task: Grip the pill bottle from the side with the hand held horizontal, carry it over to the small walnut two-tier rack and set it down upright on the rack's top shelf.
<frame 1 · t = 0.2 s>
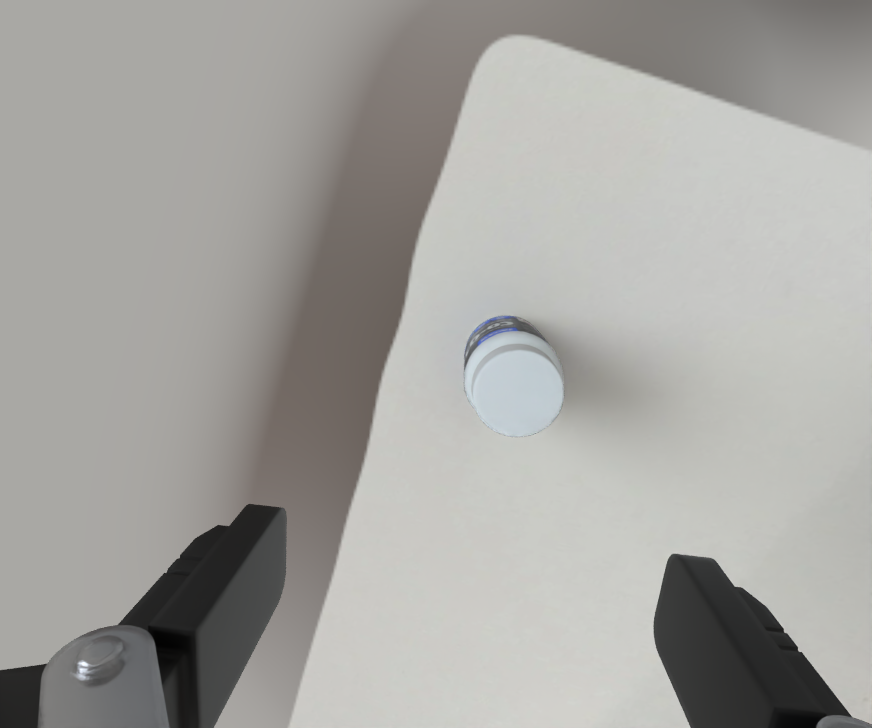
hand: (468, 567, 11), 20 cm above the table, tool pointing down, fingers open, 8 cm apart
pill bottle: (503, 354, 31), on the table
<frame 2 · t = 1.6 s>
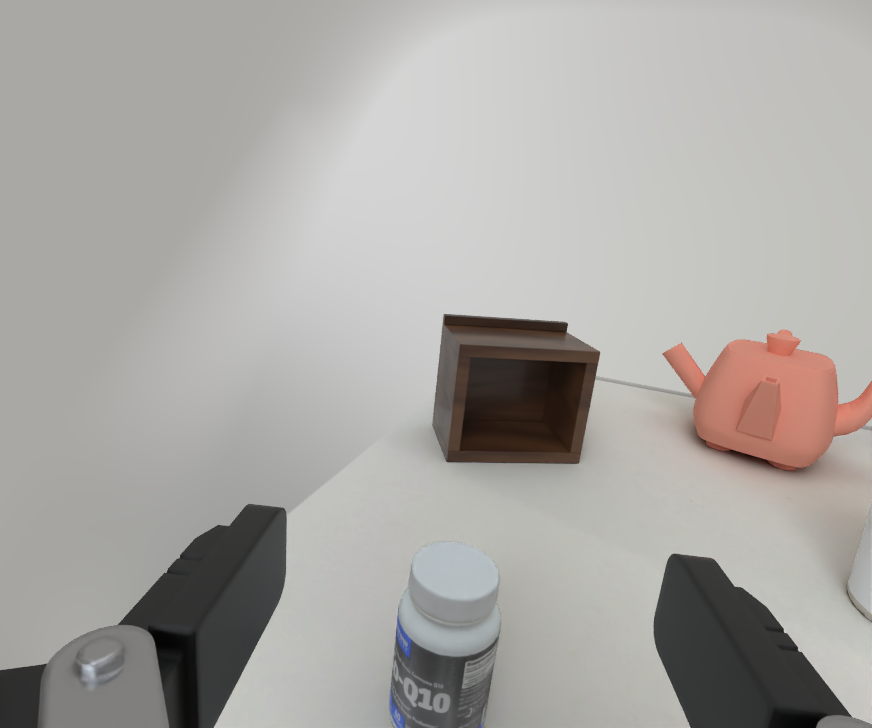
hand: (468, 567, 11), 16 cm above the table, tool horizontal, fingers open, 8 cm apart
pill bottle: (436, 715, 26), on the table
shelf: (501, 443, 57), on the table
teapot: (754, 447, 64), on the table
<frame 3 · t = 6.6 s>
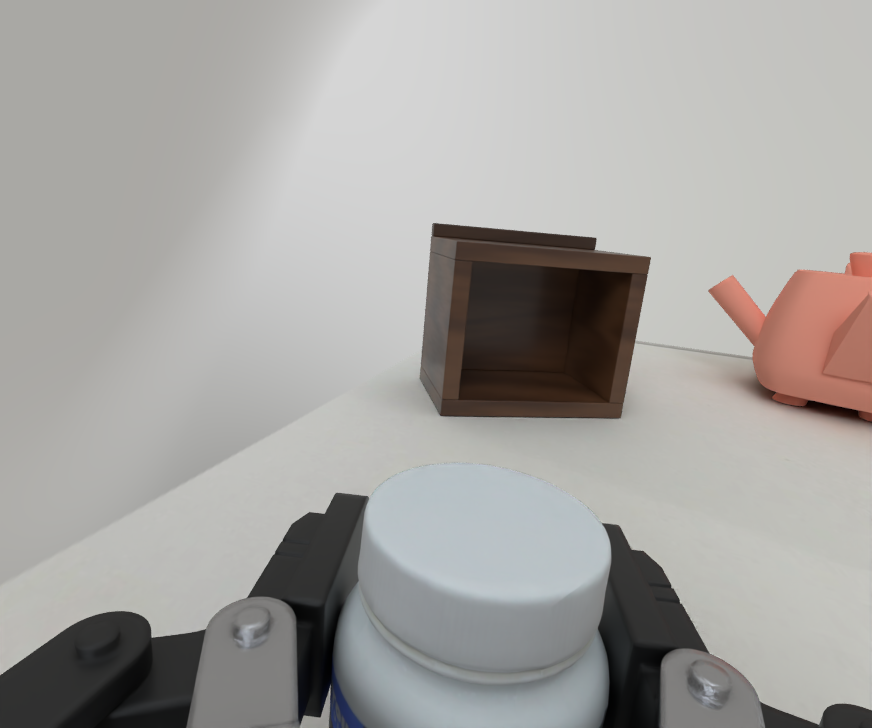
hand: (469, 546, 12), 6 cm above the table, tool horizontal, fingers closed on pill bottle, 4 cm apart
shelf: (513, 397, 42), on the table
teapot: (832, 403, 50), on the table
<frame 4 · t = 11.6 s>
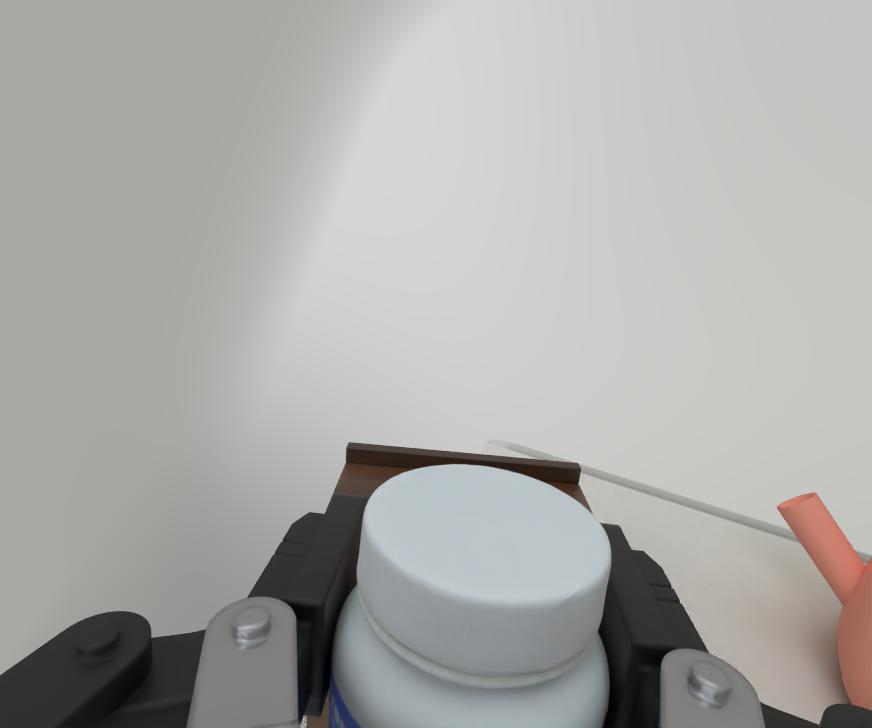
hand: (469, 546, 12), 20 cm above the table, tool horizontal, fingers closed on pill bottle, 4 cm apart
shelf: (443, 685, 31), on the table
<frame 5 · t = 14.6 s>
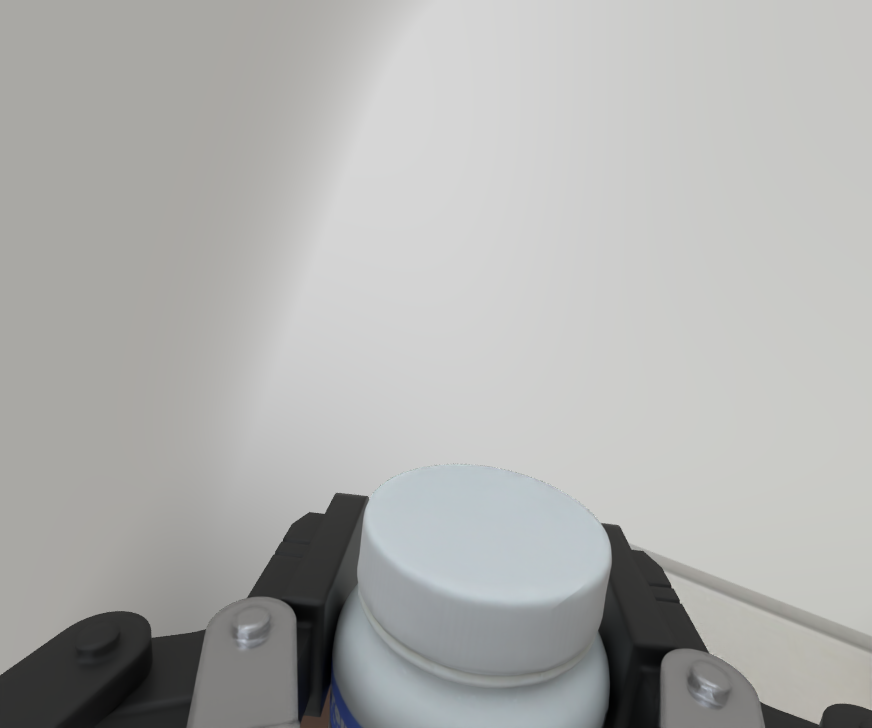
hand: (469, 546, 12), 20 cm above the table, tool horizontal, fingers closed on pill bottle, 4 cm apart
when the fingers open (18 cm above the table, at t = 16.8 s): pill bottle stays where it is, resting on shelf.
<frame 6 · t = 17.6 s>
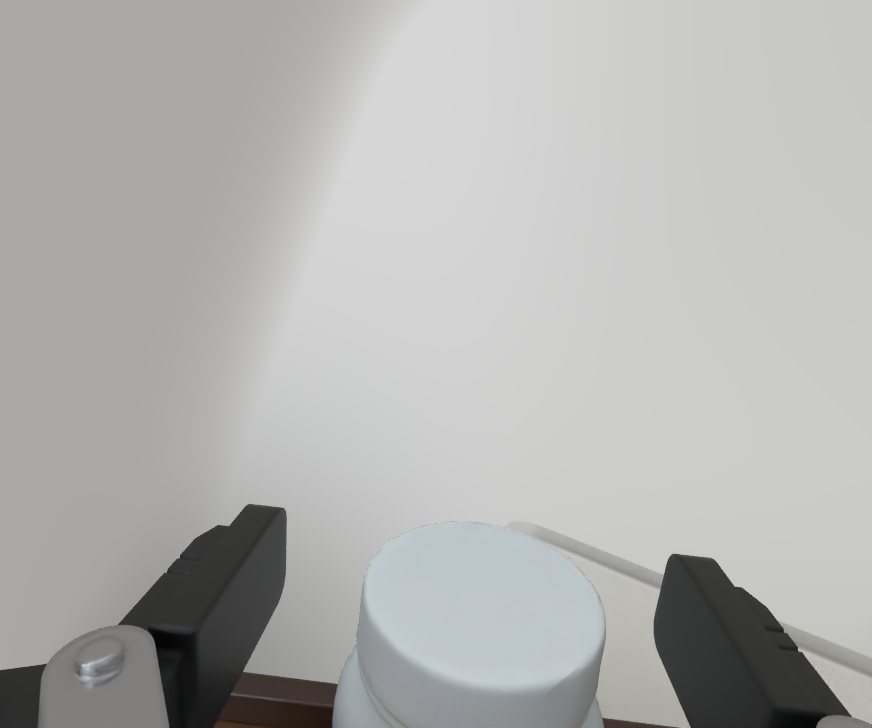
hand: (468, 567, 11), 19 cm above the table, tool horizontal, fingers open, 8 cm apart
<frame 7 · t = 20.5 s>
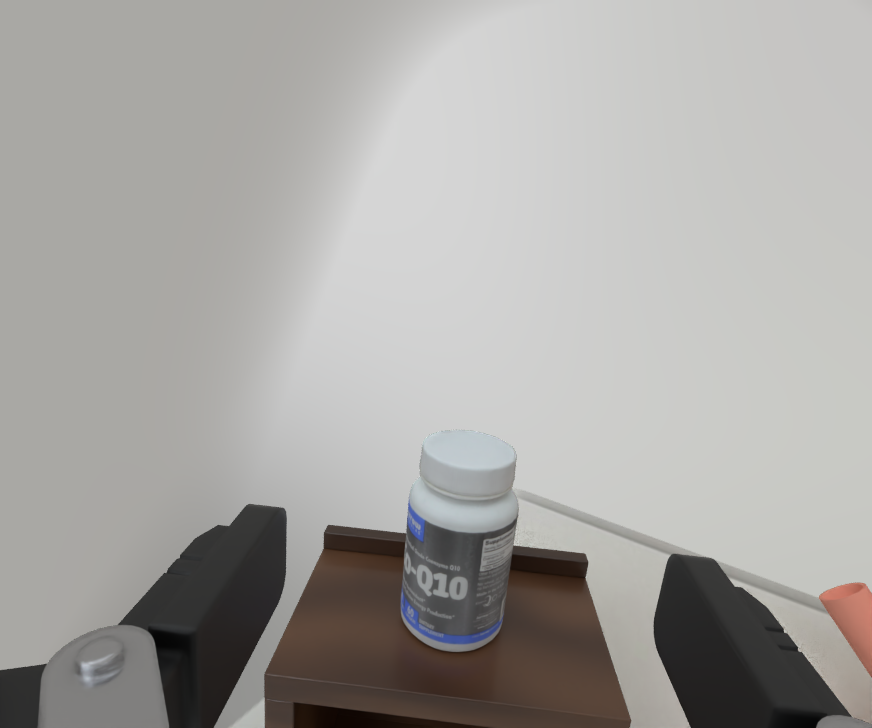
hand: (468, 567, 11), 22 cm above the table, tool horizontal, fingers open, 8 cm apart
pill bottle: (451, 619, 24), point 12 cm above the table, touching shelf
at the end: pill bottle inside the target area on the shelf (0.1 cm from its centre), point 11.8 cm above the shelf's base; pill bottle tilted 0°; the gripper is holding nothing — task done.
